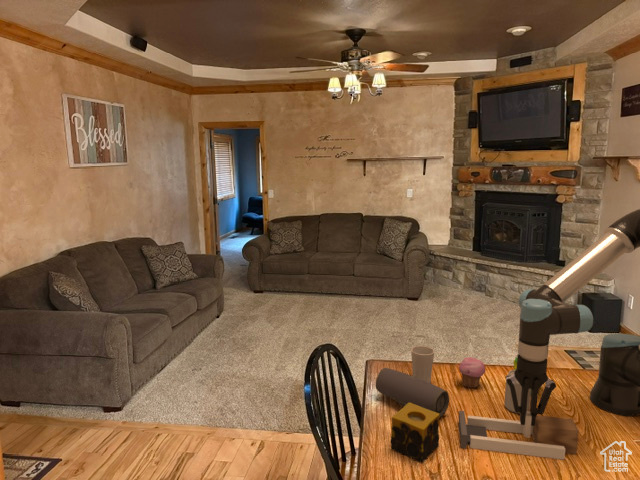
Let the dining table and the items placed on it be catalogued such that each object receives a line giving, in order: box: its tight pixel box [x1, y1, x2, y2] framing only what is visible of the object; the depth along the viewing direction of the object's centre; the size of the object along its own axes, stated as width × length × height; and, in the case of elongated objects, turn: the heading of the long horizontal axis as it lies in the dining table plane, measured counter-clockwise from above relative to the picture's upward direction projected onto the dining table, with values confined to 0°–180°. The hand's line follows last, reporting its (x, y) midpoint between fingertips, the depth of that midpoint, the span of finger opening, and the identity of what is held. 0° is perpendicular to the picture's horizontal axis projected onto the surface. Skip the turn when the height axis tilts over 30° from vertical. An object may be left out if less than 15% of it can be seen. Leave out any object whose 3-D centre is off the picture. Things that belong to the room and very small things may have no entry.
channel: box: [466, 415, 566, 460], centre depth 136 cm, size 24×12×3 cm, turn 77°
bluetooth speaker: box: [375, 367, 450, 418], centre depth 154 cm, size 23×9×10 cm, turn 44°
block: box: [531, 414, 579, 455], centre depth 133 cm, size 10×6×7 cm, turn 78°
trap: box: [458, 410, 488, 449], centre depth 138 cm, size 8×13×4 cm, turn 167°
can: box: [503, 369, 531, 414], centre depth 152 cm, size 8×8×12 cm
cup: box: [410, 345, 435, 384], centre depth 170 cm, size 8×8×12 cm
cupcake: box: [458, 356, 486, 389], centre depth 168 cm, size 9×9×10 cm
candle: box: [390, 403, 440, 463], centre depth 133 cm, size 10×10×10 cm
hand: (526, 434), depth 135 cm, fingers closed
